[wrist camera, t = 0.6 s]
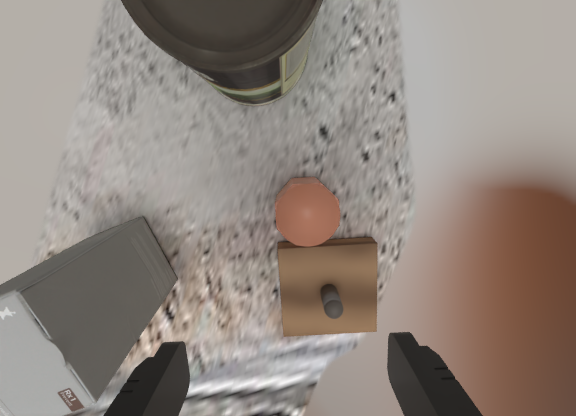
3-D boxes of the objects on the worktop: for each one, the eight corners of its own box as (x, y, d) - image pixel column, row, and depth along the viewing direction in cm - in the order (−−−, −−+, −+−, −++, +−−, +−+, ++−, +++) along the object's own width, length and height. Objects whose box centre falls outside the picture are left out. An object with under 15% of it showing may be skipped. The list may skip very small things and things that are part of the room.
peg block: (278, 242, 31) (276, 265, 25) (371, 237, 30) (391, 259, 25) (283, 325, 33) (283, 364, 27) (371, 320, 33) (389, 358, 27)
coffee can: (238, 127, 28) (192, 112, 14) (175, 28, 26) (51, -102, 12) (329, 68, 27) (375, -12, 13) (270, -41, 25) (251, -270, 11)
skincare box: (91, 235, 30) (-112, 331, 15) (151, 212, 30) (7, 285, 14) (129, 302, 32) (-17, 450, 17) (187, 281, 31) (91, 413, 16)
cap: (275, 179, 29) (273, 186, 24) (330, 175, 29) (339, 182, 24) (279, 231, 30) (277, 248, 25) (331, 228, 30) (340, 244, 25)
